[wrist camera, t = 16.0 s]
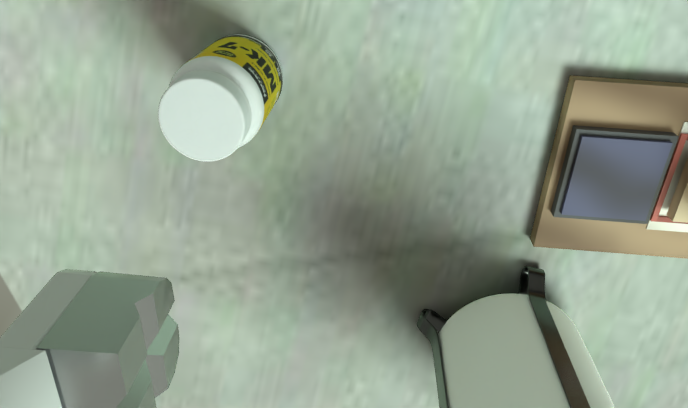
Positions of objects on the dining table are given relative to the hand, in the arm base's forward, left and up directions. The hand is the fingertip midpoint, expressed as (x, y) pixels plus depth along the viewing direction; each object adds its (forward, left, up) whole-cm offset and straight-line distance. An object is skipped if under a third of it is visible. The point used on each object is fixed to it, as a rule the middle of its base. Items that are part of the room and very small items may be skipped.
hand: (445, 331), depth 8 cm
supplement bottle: (+5, -10, -32) cm, 34 cm away
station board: (+10, +20, -32) cm, 39 cm away
